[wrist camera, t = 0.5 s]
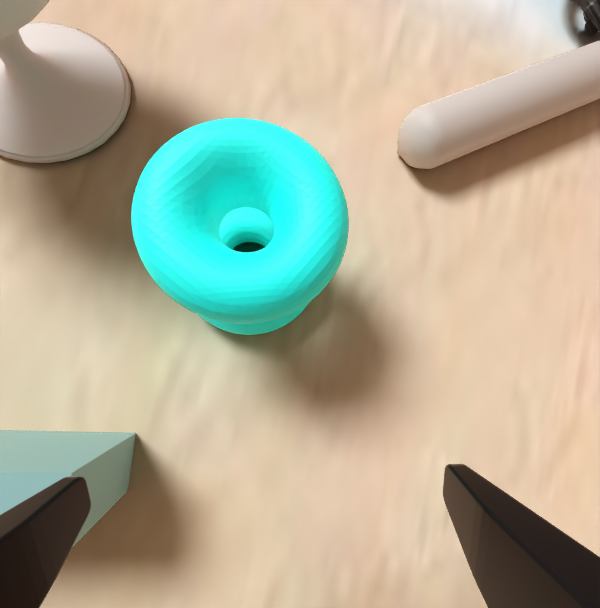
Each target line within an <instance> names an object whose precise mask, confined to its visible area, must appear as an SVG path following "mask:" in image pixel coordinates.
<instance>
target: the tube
mask: <svg viewBox="0 0 600 608" xmlns="http://www.w3.org/2000/svg"><path fill="white" fill-rule="evenodd" d="M598 99H600V40H599V41H596V42H593V43H591V44H588V45H585V46H582V47H580V48H577V49H574V50H571V51H569V52H566V53H563V54H560V55H558V56H555V57H552V58H549V59H547V60H544V61H541V62H539V63H536V64H533V65H530V66H528V67H525V68H522V69H519V70H517V71H514V72H511V73H508V74H506V75H503V76H500V77H498V78H495V79H492V80H489V81H487V82H484V83H481V84H478V85H476V86H473V87H470V88H467V89H465V90H462V91H459V92H457V93H454V94H451V95H448V96H446V97H443V98H440V99H437V100H435V101H432V102H429V103H426V104H424V105H421V106H418V107H416V108H414V109H413V110H412V111H411V112H410V114H409V115H408V116H407V117H406V118H405V119H404V120H403V123H402V125H401V128H400V131H399V136H398V148H397V153H398V154H399V155H400V156H401V157H402V158H403V160H404V161H405V162H406V163H407V164H408V165H410V166H412V167H414V168H422V169H432V168H435V167H437V166H439V165H442V164H444V163H447V162H449V161H451V160H454V159H456V158H459V157H461V156H463V155H466V154H468V153H471V152H473V151H475V150H478V149H480V148H483V147H485V146H487V145H490V144H492V143H495V142H497V141H499V140H502V139H504V138H507V137H509V136H511V135H514V134H516V133H519V132H521V131H523V130H526V129H528V128H530V127H533V126H535V125H538V124H540V123H542V122H545V121H547V120H550V119H552V118H554V117H557V116H559V115H562V114H564V113H566V112H569V111H571V110H574V109H576V108H578V107H581V106H583V105H586V104H588V103H590V102H593V101H595V100H598Z"/></svg>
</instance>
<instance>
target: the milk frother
mask: <svg viewBox="0 0 600 608" xmlns="http://www.w3.org/2000/svg"><path fill="white" fill-rule="evenodd" d="M580 2H581V3H582V4H581V8H582V10H583V15H584V20H585V21H586V24H585V28H586V30H587V32H588V33H589V34H590V35H593V34H595V33H596V32H597V31H600V0H580Z"/></svg>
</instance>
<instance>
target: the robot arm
mask: <svg viewBox="0 0 600 608" xmlns="http://www.w3.org/2000/svg"><path fill="white" fill-rule="evenodd" d="M443 497H444V501H445V504H446V507H447V509H448V512H449V515H450V517H451V520H452V522H453V525H454V528H455V530H456V533H457V535H458V538H459V541H460V543H461V546H462V548H463V551H464V554H465V556H466V559H467V561H468V564H469V566H470V569H471V571H472V574H473V576H474V579H475V581H476V583H477V585H478V587H479V589H480V592H481V594H482V596H483V598H484V600H485V602H486V604H487V606H488V608H600V557H599V556H597V555H596V554H594V553H593V552H591V551H590V550H589V549H587V548H586V547H584V546H583V545H581V544H580V543H578V542H577V541H575V540H574V539H572V538H571V537H570V536H568V535H567V534H565V533H564V532H562V531H561V530H559V529H558V528H556V527H555V526H554V525H552V524H551V523H549V522H548V521H546V520H545V519H543V518H542V517H540V516H539V515H537V514H536V513H535V512H533V511H532V510H530V509H529V508H527V507H526V506H524V505H523V504H521V503H520V502H518V501H517V500H516V499H514V498H513V497H511V496H510V495H508V494H507V493H505V492H504V491H502V490H501V489H499V488H498V487H497V486H495V485H494V484H492V483H491V482H489V481H488V480H486V479H485V478H483V477H482V476H480V475H479V474H478V473H476V472H475V471H473V470H472V469H470V468H469V467H467V466H466V465H464V464H449V465H447V466H446V467H445V474H444V485H443ZM90 509H91V499H90V495H89V491H88V486H87V482H86V479H85V478H84V477H82V476H69V477H65V478H62V479H61V480H59V481H57V482H55V483H54V484H52V485H50V486H49V487H47V488H45V489H44V490H42V491H40V492H38V493H37V494H35V495H33V496H32V497H30V498H28V499H26V500H25V501H23V502H21V503H20V504H18V505H16V506H15V507H13V508H11V509H9V510H8V511H6V512H4V513H3V514H1V515H0V608H39V607H40V606H41V604H42V602H43V600H44V599H45V597H46V595H47V594H48V592H49V590H50V588H51V586H52V584H53V583H54V581H55V579H56V577H57V575H58V573H59V571H60V569H61V567H62V566H63V564H64V562H65V560H66V558H67V556H68V554H69V552H70V550H71V548H72V546H73V544H74V542H75V540H76V538H77V536H78V534H79V532H80V530H81V528H82V527H83V525H84V523H85V521H86V519H87V517H88V515H89V512H90Z"/></svg>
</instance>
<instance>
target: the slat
mask: <svg viewBox="0 0 600 608" xmlns="http://www.w3.org/2000/svg"><path fill="white" fill-rule="evenodd" d="M135 437H136V433H112V432H62V431H13V430H0V515H1V514H3V513H4V512H6V511H8V510H9V509H11V508H13V507H15V506H16V505H18V504H20V503H21V502H23V501H25V500H26V499H28V498H30V497H32V496H33V495H35V494H37V493H38V492H40V491H42V490H44V489H45V488H47V487H49V486H50V485H52V484H54V483H55V482H57V481H59V480H61V479H62V478H65V477H69V476H82V477H84V478H85V479H86V482H87V486H88V491H89V495H90V499H91V509H90V512H89V515H88V517H87V519H86V521H85V523H84V525H83V527H82V528H81V530H80V532H79V534H78V536H77V538H76V540H75V542H74V544H73V546H74V545H75V544H76V543H77V542H78V541H79V540H80V539H81V538H82V537H83V536H84V535H85V534H86V533H87V532H88V531H89V530H90V529H91V528H92V527H93V526H94V525H95V524H96V523H97V522H98V521H99V520H100V519H101V518H102V517H103V516H104V515H105V514H106V513H107V512H108V511H109V510H110V509H111V508H112V507H113V506H114V505H115V504H116V503H117V502H118V501H119V500H120V499H121V498H122V496H123V495H124V494H125V493H126V492H127V491H128V486H129V479H130V472H131V465H132V458H133V451H134V444H135ZM73 546H72V547H73ZM71 549H72V548H71Z"/></svg>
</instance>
